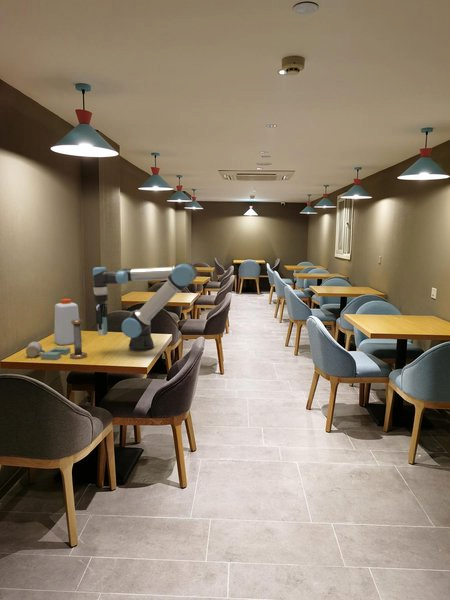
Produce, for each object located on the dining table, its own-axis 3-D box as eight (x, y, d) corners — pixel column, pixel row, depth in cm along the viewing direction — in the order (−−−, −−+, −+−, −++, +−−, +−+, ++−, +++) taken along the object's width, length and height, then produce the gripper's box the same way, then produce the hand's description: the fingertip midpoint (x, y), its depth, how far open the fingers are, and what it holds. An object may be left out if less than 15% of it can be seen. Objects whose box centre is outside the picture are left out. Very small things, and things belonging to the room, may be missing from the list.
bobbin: (89, 355, 265) (87, 319, 262) (82, 359, 257) (80, 322, 254) (74, 354, 267) (73, 318, 264) (67, 358, 258) (65, 321, 255)
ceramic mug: (25, 358, 259) (24, 345, 258) (28, 354, 267) (27, 341, 266) (45, 357, 261) (44, 344, 260) (47, 353, 269) (47, 341, 268)
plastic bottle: (59, 346, 286) (57, 301, 282) (52, 341, 298) (50, 299, 294) (83, 342, 295) (81, 299, 291) (76, 338, 307) (73, 297, 303)
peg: (107, 333, 270) (106, 317, 268) (104, 335, 266) (104, 318, 264) (100, 333, 270) (99, 316, 269) (98, 335, 266) (97, 318, 265)
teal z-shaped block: (70, 352, 271) (70, 347, 270) (56, 359, 255) (56, 354, 255) (56, 352, 272) (56, 347, 272) (41, 359, 257) (41, 354, 256)
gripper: (100, 292, 273) (102, 330, 277) (88, 296, 257) (90, 337, 260) (112, 292, 272) (114, 331, 276) (101, 296, 256) (103, 337, 259)
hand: (102, 333), depth 268 cm, fingers closed on peg, 4 cm apart
